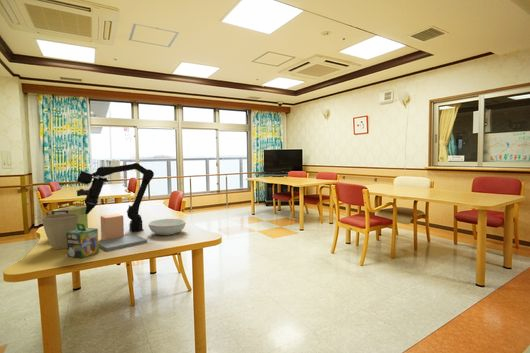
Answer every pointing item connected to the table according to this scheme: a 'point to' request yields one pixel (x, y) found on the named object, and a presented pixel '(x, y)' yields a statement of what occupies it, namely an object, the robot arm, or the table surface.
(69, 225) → the plant pot
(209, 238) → the table surface
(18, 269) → the table surface
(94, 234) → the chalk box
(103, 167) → the robot arm
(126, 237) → the board
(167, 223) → the serving bowl
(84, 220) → the protein box
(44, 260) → the table surface
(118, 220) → the terracotta carton
